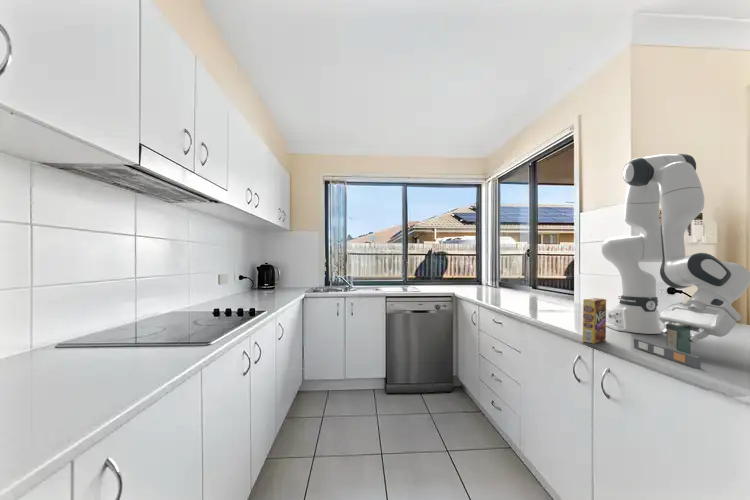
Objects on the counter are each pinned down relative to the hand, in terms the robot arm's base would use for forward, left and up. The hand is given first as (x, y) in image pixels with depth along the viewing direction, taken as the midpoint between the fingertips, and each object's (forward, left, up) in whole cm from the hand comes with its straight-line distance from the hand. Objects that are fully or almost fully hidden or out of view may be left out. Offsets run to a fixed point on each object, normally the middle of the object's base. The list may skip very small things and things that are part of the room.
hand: (677, 337), depth 111 cm
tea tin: (0, +1, -5) cm, 5 cm away
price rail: (+3, -7, -5) cm, 9 cm away
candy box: (-17, -15, -5) cm, 23 cm away
